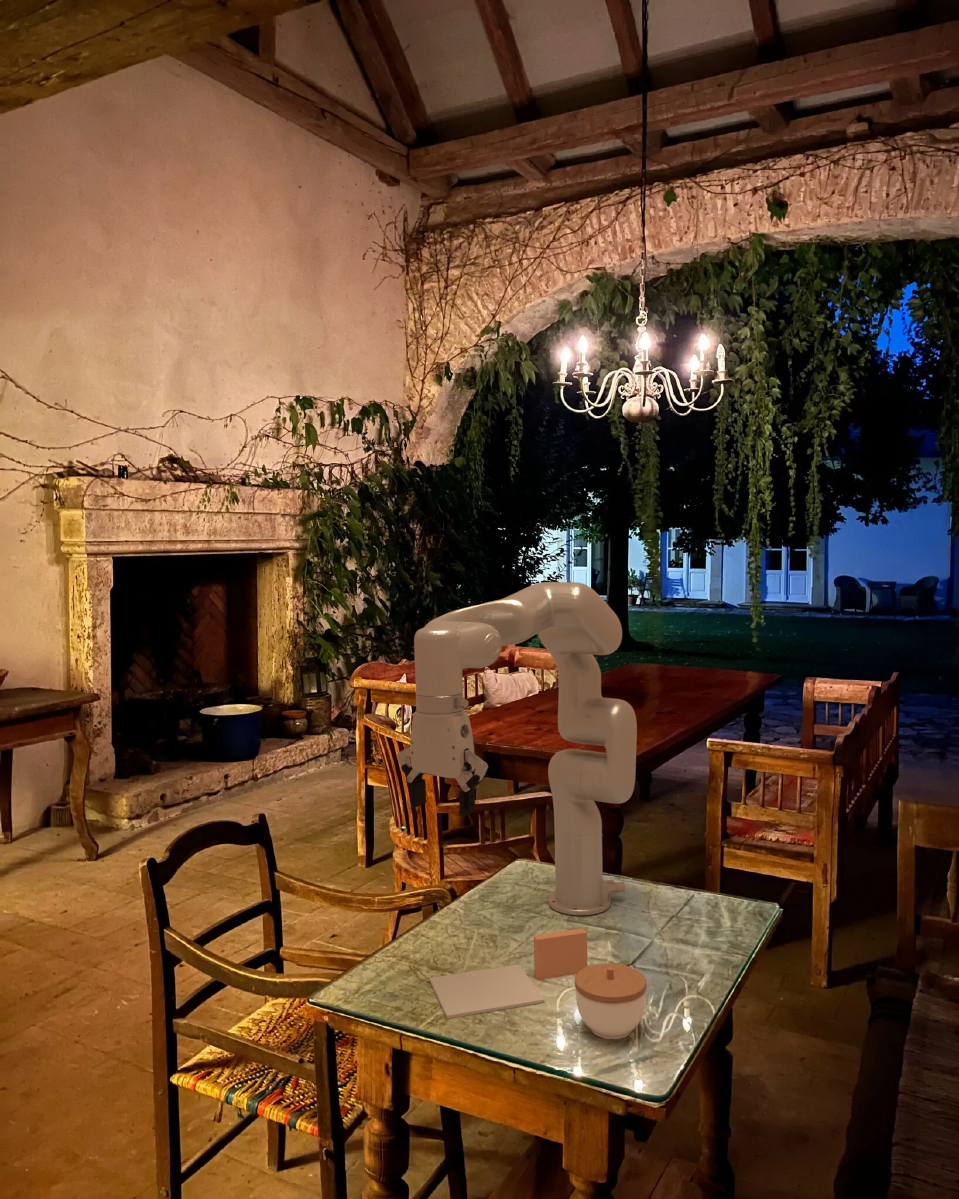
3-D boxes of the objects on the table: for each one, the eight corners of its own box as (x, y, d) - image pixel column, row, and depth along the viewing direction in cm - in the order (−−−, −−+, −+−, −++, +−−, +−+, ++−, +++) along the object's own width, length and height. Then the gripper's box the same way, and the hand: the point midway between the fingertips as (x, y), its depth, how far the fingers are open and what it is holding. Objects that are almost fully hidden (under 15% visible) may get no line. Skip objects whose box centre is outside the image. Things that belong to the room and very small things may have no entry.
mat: (519, 967, 160) (519, 964, 160) (544, 1002, 147) (544, 999, 147) (429, 980, 155) (429, 977, 155) (447, 1018, 143) (447, 1015, 143)
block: (583, 967, 159) (582, 928, 159) (587, 972, 157) (586, 932, 157) (534, 975, 157) (533, 935, 156) (537, 980, 155) (536, 939, 154)
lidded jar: (562, 1034, 138) (561, 973, 137) (595, 1004, 146) (594, 946, 146) (628, 1056, 131) (627, 992, 131) (658, 1022, 140) (657, 963, 140)
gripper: (497, 704, 145) (500, 811, 146) (411, 696, 155) (414, 796, 156) (470, 712, 139) (473, 824, 140) (382, 703, 148) (386, 808, 149)
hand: (442, 809), depth 148 cm, fingers open, 9 cm apart
